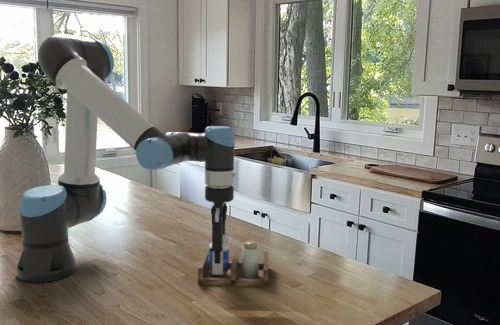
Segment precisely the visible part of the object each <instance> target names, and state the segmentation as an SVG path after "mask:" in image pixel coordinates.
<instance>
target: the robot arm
mask: <svg viewBox="0 0 500 325" xmlns="http://www.w3.org/2000/svg"><path fill="white" fill-rule="evenodd" d="M37 61H38V64H39V66H40V68H41V71H42V72H43V74H44V75H45V76H46V77H47V78H48V79H49V81H51V82H52V83H53V84H54V85H55V86H56V88H59V90H66V109H65V110H66V111H65V112H66V114H65V115H66V116H65V135H64V136H65V139H64V140H65V142H64V162H63V163H64V165H63V167H64V168H63V173H62V174H60V176H58V177H57V180H58V182H57V184H47V185H43V186H36V187H33V188H29V189H28V190H26V191H24V192H23V193H22V195H21V196H20V199H19V205H20V206H19V213H20V214H19V215H20V228H21V242H22V244H21V245H22V249H21V252H20V255H19V258H18V263H17V265H16V277H17V278H18V279H19V280H20V281H23V282H26V283H48V282H54V281H58V280H62V279H64V278H67V277H70V276H71V275H72V274H74V273H75V272H76V271H77V260H76V258H75V255H74V252H73V251H72V248H71V246H70V243H69V242H70V241H69V229H70V228H72V227H75V226H77V225H81V224H82V223H83V224H84V223H87V222H89V221H92V220H93V219H94V218H97V217H99V215H100V214H102V213H103V212H104V210H105V207H106V205H107V193H106V190H105V189H104V186H103V185H102V184H101V182H100V181H101V179H100V177H99V176H98V175H97V174H96V155H97V139H98V138H97V137H98V136H97V135H98V119H100V121H102V122H103V123H104V124H105V125H107V126H108V128H110V129H111V130H112V131H113V132H114V133H116V134H117V136H119V138H121V139H122V140H124V142H126V144H128V146H130V147H131V148H132V149H133V150H135V152H136V153H135V156H136V159H137V162H138V164H139V165H140V166H141V167H142V168H143V169H146V170H149V171H150V170H151V171H155V170H162V169H165V168H168V167H171V166H173V165H177V164H181V163H184V162H199V163H200V162H201V163H204V184H205V187H204V199H205V201H207V202H210V203H213V205H211V209H210V214H211V226H212V228H211V229H212V230H211V243H212V249H210V251H213V261H212V274H217V275H223V248H222V244H223V234H225V235H227V234H226V221H227V213H228V206H227V203H229V202H232V201H233V200H234V195H235V194H234V193H235V192H234V191H235V189H234V188H235V186H233V184H234V181H235V180H234V178H235V177H237V173H236V172H235V170H234V169H235V164H234V163H235V147H236V144H235V133H234V129H233V128H232V127H231V126H227V125H226V126H225V125H209V126H206V127H205V129H204V132H202V133H201V132H200V133H199V132H198V133H197V132H185V131H168V132H165V134H164V133H163V132H162V131H161V130H159V129H158V128H157V127H156V126H155V125H154V124H153V123H151V122H150V121H149V120H148V119H147V118H146V117H144V116H143V114H141V113H140V112H139V111H138V110H136V109H135V107H133V106H132V105H131V104H130V103H128V102H127V101H126V100H125V99H124V98H123V97H122V96H121V95H120V94H118V93H117V92H116V91H114V89H112V88H111V87H110V86H109V85H108V84H107V83H106V79H108V78H109V77H110V75H111V74H112V73H113V70H114V68H115V58H114V55H113V53H112V51H111V49H110V47H109V46H108V45H107V44H106V43H105V42H103V41H102V40H100V39H96V38H92V37H89V36H87V37H86V36H78V35H72V34H68V33H58V34H57V33H56V34H53V35H51V36H49V37H47V38H46V39H44V41H43V42H42V43H41V45H40V46H39V49H38V52H37ZM228 239H229V238H228V237H227V242H228Z"/></svg>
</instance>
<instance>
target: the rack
mask: <svg viewBox="0 0 500 325" xmlns="http://www.w3.org/2000/svg"><path fill="white" fill-rule="evenodd" d="M231 260H232V261H230V260H229V269H228V271H227V272H226V273H223V275H217V274H212V273H211V272H210V271H209V250H204V251H203V253H202V256H201V259H200V261H199V263H198V266H197V285H199V286H200V285H203V286H204V285H205V286H207V285H208V286H232V287H233V286H237V287H239V286H241V287H269V252H268V251H267V252H266V251H264V252H263V262H262V261H261V262H260V261H259V276H258V278H255V279H245V278H243V277H242V261H239V251H233V255H232V259H231Z"/></svg>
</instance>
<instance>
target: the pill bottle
mask: <svg viewBox="0 0 500 325" xmlns="http://www.w3.org/2000/svg"><path fill="white" fill-rule="evenodd" d="M225 234H226V233H225ZM225 234H223V244H222V248H223V273H226V272H227V271H228V269H229V261H230V245H229V243H228V241H227V238H228V236H227V234H226V235H225ZM210 249H212V242H210V244H209V246H208V251H209V271H210V272H211V273H212V261H213V251H210Z"/></svg>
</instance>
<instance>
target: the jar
mask: <svg viewBox="0 0 500 325" xmlns="http://www.w3.org/2000/svg"><path fill="white" fill-rule="evenodd" d="M241 262H242V277H243V278H245V279H255V278H258V276H259V262H260V247H259V246H258V242H257V241H255V240H246V241H244V242H243V245H242V246H241Z"/></svg>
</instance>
